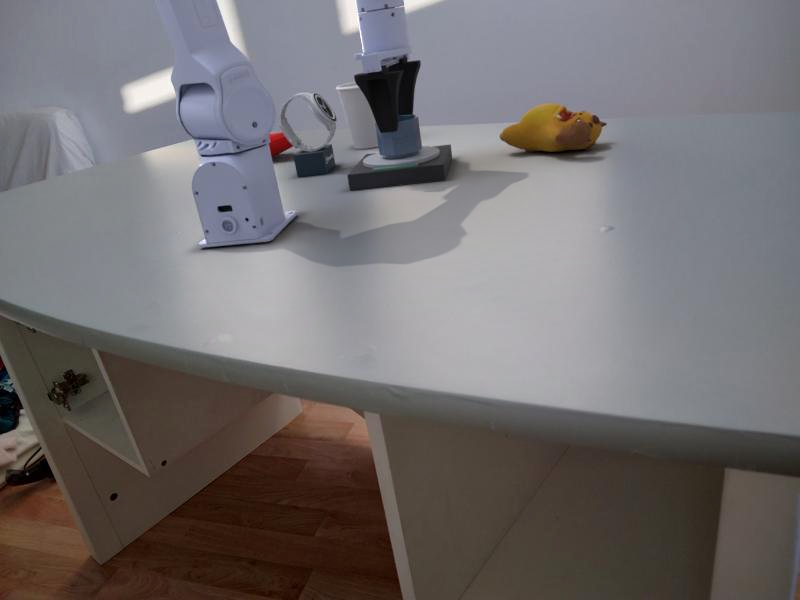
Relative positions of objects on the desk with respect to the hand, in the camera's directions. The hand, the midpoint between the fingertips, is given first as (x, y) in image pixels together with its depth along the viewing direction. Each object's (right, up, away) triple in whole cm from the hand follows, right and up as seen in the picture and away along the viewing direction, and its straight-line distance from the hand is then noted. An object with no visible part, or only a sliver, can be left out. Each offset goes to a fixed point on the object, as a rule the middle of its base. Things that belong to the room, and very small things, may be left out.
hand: (396, 126), depth 82 cm
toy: (+21, -3, +2) cm, 21 cm away
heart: (-22, +2, +27) cm, 35 cm away
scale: (+1, -6, +2) cm, 6 cm away
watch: (-12, -3, +12) cm, 17 cm away
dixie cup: (-4, +4, +26) cm, 26 cm away
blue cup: (+1, -3, +1) cm, 4 cm away
